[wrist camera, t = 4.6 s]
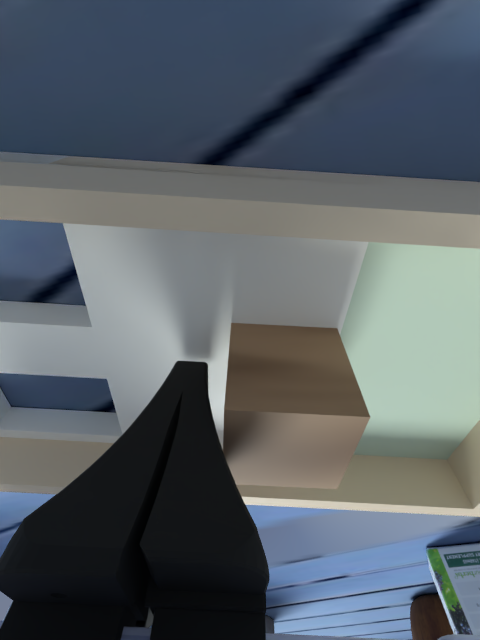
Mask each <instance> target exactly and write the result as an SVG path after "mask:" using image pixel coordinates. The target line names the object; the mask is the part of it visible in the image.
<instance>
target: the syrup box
mask: <svg viewBox="0 0 480 640" xmlns="http://www.w3.org/2000/svg"><path fill="white" fill-rule="evenodd" d="M426 552H427V557H428V563H429V569H430V572H431V575H432V577H433V580H434V583H435V585H436V588H437V591H438V593H439V596H440V598H441V601H442V604H443V606H444V609H445V612H446V614H447V617H448V620H449V622H450V625H451V628H452V630H453V633H454V634H465V635H480V543H475V544H465V545H455V546H445V547H432V548H426Z"/></svg>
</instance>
